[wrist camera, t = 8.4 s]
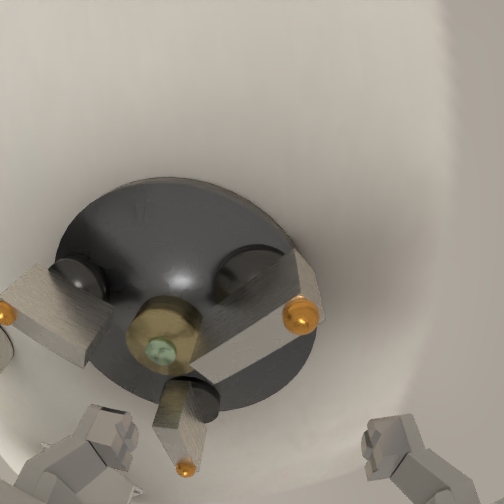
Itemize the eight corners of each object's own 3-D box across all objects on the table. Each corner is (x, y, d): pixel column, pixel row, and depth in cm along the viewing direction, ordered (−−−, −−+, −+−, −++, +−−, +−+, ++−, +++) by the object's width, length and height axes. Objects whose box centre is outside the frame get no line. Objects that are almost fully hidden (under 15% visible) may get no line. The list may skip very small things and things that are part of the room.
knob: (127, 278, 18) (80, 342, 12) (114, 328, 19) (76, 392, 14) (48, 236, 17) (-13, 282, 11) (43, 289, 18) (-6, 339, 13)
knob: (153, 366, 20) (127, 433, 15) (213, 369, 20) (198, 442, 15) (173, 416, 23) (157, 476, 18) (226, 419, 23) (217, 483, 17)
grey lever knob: (243, 333, 19) (233, 412, 13) (191, 284, 17) (160, 357, 12) (327, 276, 17) (349, 351, 11) (276, 216, 16) (279, 275, 10)
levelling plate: (243, 420, 25) (240, 459, 21) (57, 339, 23) (34, 370, 19) (368, 259, 18) (390, 296, 14) (93, 132, 16) (51, 140, 12)
